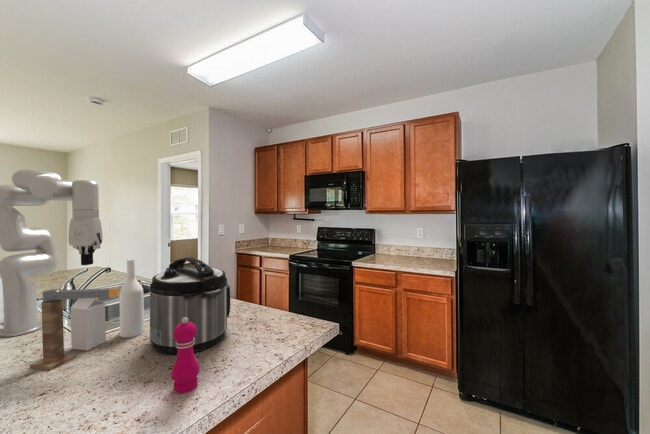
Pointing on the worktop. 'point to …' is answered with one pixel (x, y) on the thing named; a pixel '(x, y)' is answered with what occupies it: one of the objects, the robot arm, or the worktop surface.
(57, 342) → the gate post
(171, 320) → the pressure cooker
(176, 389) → the pepper mill
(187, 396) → the worktop surface
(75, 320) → the milk carton
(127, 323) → the bottle
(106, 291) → the arm
